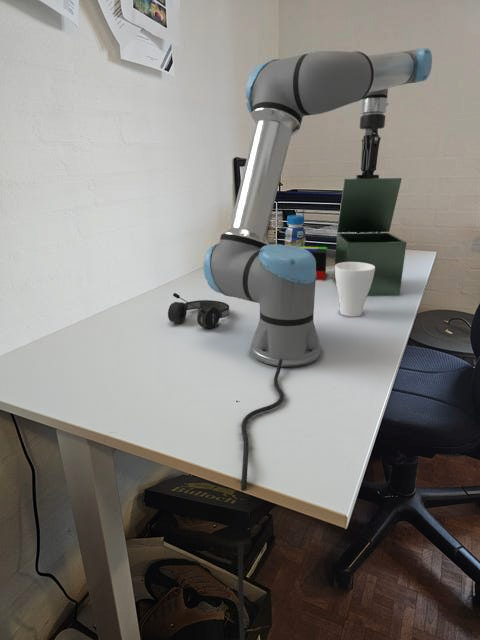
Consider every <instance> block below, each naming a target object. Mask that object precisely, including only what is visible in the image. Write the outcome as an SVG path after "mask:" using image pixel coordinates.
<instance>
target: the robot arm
mask: <svg viewBox="0 0 480 640" xmlns="http://www.w3.org/2000/svg"><path fill="white" fill-rule="evenodd" d="M432 66H433V55H432V51H431V49H430V48H428V47H423V48H416V49H411V50H405V51H397V52H396V51H394V52H386V53H378V54H370V55H367V54H366V53H364V52H363V51H343V50H342V51H341V50H340V51H339V50H337V51H336V50H317V51H313V52H309V53H303V54H300V55H294V56H289V57H285V58H276V59H275V58H273V59H271V60H268V61H267V62H263V63H261V64H259V65H257V66H256V67H255V68H254V69H253V70H252V71H251V73H250V75H249V77H248V80H247V83H246V88H245V99H247V101H246V103H245V104H246V107H247V111H248V112H249V114H250V117H249V118H250V121H251V122H252V124H253V126H254V129H253V133H252V135H251V140H250V143H249V144H250V145H249V148H248V152H247V157H246V160H245V164H244V168H243V172H242V173H243V174H242V177H241V180H240V185H239V189H238V193H237V196H236V201H235V205H234V209H233V214H232V218H231V221H230V225H229V227H228V229H226V230H224V231H223V232H221V234H220V238H219V241H218V243H216V244H213V245H211V246H210V248H209V249H207V251H206V253H205V255H204V260H203V266H202V268H203V276H204V278H205V280H206V282H207V285H208V286H209V287H210V289H212V290H213V291H214V292H216V293H219V294H222V295H224V296H226V297H228V298H229V297H230V298H231V297H232V298H236V299H241V300H245V301H248V302H252V303H257V304H259V321H258V324H257V327H256V330H255V333H254V335H253V339H252V342H251V354H252V356H253V357H254V358H255V359H256V360H257V361H259V362H261V363H263V364H266V365H268V366H274V367H276V371H275V374H274V377H273V386H274V388H275V389H276V391H277V393H278V395H279V397H278V399H277V401H275V402H274V403H272V404H268V405H266V406H263V407H259V408H257V409H255V410H252V411H251V412H249V413H248V414H246V416H244V417H243V420H242V422H241V433H242V438H243V453H242V454H243V455H242V466H241V467H242V468H241V484H240V490H241V491H242V492H245V491H247V483H248V482H247V481H248V469H249V468H248V467H249V443H250V442H249V436H248V431H247V423H248V422H249V420H250V419H251V418H252V417H254V416H255V415H258V414H262V413H265V412H267V411H270V410H273V409H275V408H277V407H278V406H280V405H281V404H282V403H283V401H284V397H285V396H284V392H283V390H282V389H281V387H280V386H279V382H278V381H279V375H280V372H281V369H282V368H295V367H303V366H307V365H310V364H312V363H314V362H316V360H318V359H319V358H320V355H321V344H320V340H319V335H318V333H317V329H316V326H315V324H314V314H315V296H316V282H317V280H316V277H317V275H316V261H315V258H314V256H313V255H312V253H310V252H309V251H307V250H305V249H303V248H300V247H296V246H291V245H285V244H281V243H272V244H271V243H270V242H269V241H268V239H267V233H268V229H269V225H270V221H271V218H272V214H273V209H274V205H275V202H276V198H277V194H278V190H279V185H280V181H281V178H282V175H283V174H282V173H283V170H284V165H285V163H286V162H285V161H286V157H287V154H288V150H289V146H290V143H291V142H290V141H291V139H292V136H294V135H295V134H297V133H298V132H299V131H300V129H301V127H302V126H301V125H302V122H303V118H304V117H306V116H308V117H309V116H313V115H314V116H315V115H321V114H325V113H328V112H331V111H334V110H337V109H339V108H342V107H345V106H348V105H351V104H353V103H357V102H359V101H360V102H361V103H360V115H361V116H360V119H359V129H360V130H365V132H364V135H363V138H362V139H361V158H360V171H361V175H364V179H371V178H373V175H374V174H375V171H376V170H377V165H378V164H377V163H378V156H379V150H380V149H379V148H380V142H381V139H382V138H381V136H380V135H379V130H380V129H384V128H385V123H386V115H385V113H387V107H388V106H389V102H388V94H389V89H391V88H394V87H398V86H403V85H408V84H416V83H420V82H421V83H422V82H424V81H425V82H426V80H427V79H428V78H429V76H430V74H431V72H432V71H431V70H432ZM237 588H238V589H237V593H238V623H239V640H246V638H245V635H246V634H245V607H244V606H245V605H244V601H245V600H244V543H237Z"/></svg>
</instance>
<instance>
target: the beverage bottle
mask: <svg viewBox="0 0 480 640" xmlns="http://www.w3.org/2000/svg"><path fill="white" fill-rule="evenodd" d="M286 218H287V219H286V224H287V228H286V229H285V231H284V235H285V237H284V245H291V246H296V247H306V230H305V228H304V226H303V225H305V216H304V215H302V214H292V215H288V216H287V217H286Z"/></svg>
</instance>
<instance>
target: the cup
mask: <svg viewBox="0 0 480 640" xmlns="http://www.w3.org/2000/svg"><path fill="white" fill-rule="evenodd" d="M334 271H335V278H336V283H335V284H336V291H337V295H338V301H339V302H338V303H339V313H340V314H341V316H344V317H350V318H355V317H360V316H362V315H363V312H364V307H365V306H364V305H365V303H366V300H367V297H368V296H369V295H368V292H369V290H370V287H371V284H372V280H373V277H374V272H375V266H374V265H371V264H368V263H362V262H342V263H338V264H336V265H335V264H334Z"/></svg>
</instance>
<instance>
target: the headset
mask: <svg viewBox="0 0 480 640" xmlns="http://www.w3.org/2000/svg"><path fill="white" fill-rule="evenodd" d="M172 296H173V297H174V298H176V299H180V300H182V301H183V302H182V301H181V302H179V301H174V302H172V303H170V305H169V307H168V310H167V318H168V320H169V321H170V322H171V323H177V324H181V323H184V322H185V320H186V317H187V314H188V313H187V312H188V311H191V310H192V311H193V310H199V311H198V313H197V316H196V322H197V324H198V325H199V326H200V327H201V328H208V329H213V328H214V327H216V326H217V325H218V324H219V322H220V319H225V318H227V317H228V316H229V315H230V305H229V304H228V303H227V302H224V301H220V300H214V299H213V300H212V299H210V300H209V299H202V300H201V299H198V300H191V301H187V300H186V299H184V298H182V297H181V296H180V294H178V293H176V292H174V293H173V294H172Z"/></svg>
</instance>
